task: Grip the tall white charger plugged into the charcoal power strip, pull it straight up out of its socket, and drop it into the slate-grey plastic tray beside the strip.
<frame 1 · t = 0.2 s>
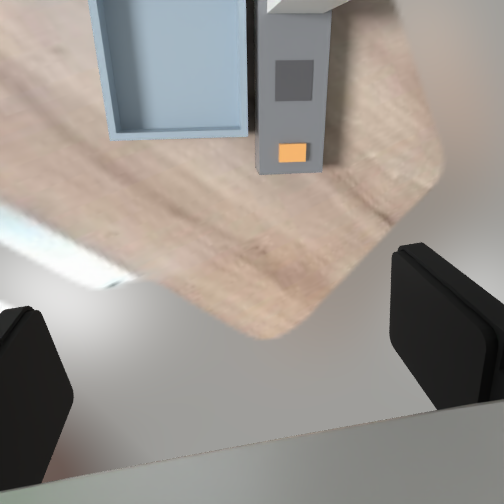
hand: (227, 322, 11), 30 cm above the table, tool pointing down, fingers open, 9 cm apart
strip: (287, 56, 36), on the table
tray: (175, 57, 35), on the table
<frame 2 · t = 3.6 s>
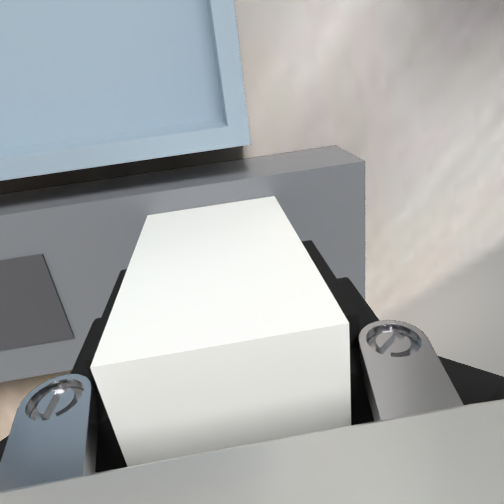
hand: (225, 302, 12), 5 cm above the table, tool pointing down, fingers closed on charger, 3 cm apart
strip: (94, 257, 16), on the table
charger: (222, 270, 13), point 3 cm above the table, touching gripper
when the fingers open (7 cm above the table, at t = 10.6 s): charger drops 2 cm, resting on tray.
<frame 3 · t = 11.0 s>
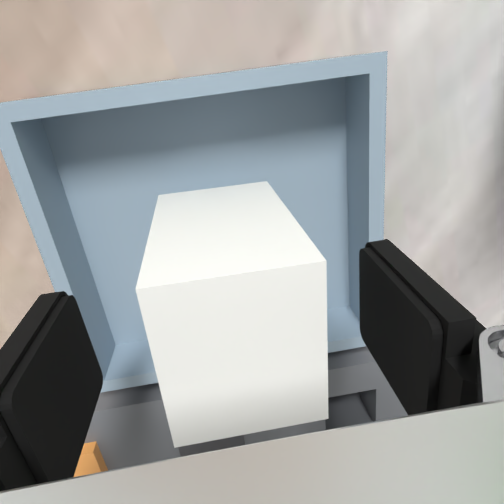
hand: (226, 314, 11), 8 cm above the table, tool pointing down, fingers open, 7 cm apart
strip: (245, 387, 22), on the table
tray: (217, 220, 18), on the table
charger: (221, 245, 16), point 3 cm above the table, touching tray
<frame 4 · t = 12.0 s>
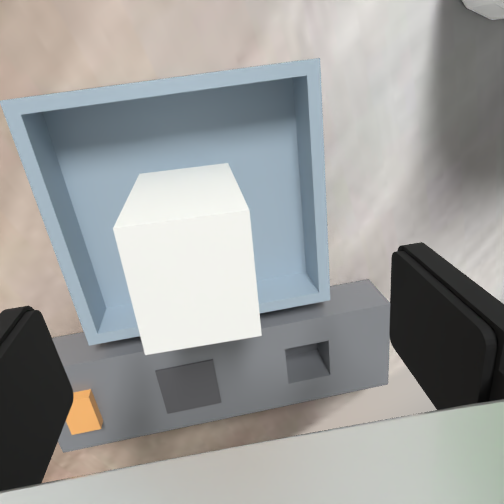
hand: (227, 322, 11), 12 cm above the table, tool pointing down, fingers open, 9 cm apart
strip: (220, 347, 26), on the table
tray: (191, 198, 21), on the table
charger: (191, 216, 19), point 3 cm above the table, touching tray
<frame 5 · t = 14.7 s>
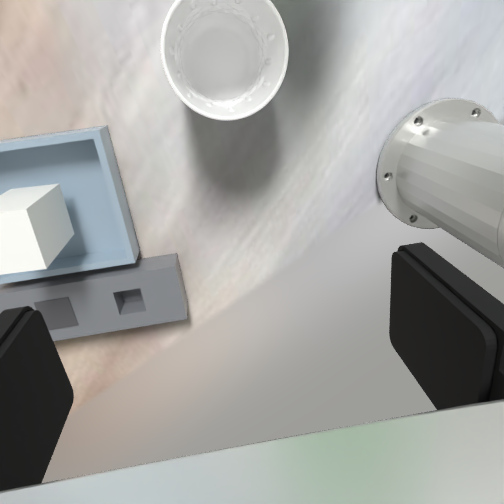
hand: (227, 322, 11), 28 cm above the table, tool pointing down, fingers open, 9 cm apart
white cup: (219, 59, 34), on the table
strip: (86, 294, 41), on the table
tray: (54, 202, 37), on the table
charger: (43, 212, 34), point 3 cm above the table, touching tray
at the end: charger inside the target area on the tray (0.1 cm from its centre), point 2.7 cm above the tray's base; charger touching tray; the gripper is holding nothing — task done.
